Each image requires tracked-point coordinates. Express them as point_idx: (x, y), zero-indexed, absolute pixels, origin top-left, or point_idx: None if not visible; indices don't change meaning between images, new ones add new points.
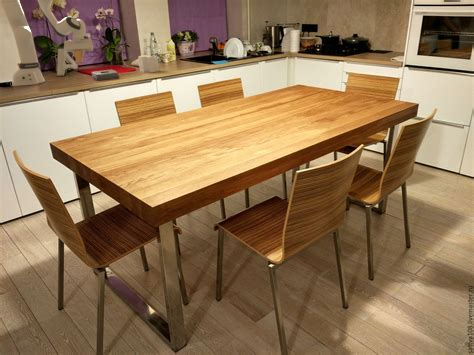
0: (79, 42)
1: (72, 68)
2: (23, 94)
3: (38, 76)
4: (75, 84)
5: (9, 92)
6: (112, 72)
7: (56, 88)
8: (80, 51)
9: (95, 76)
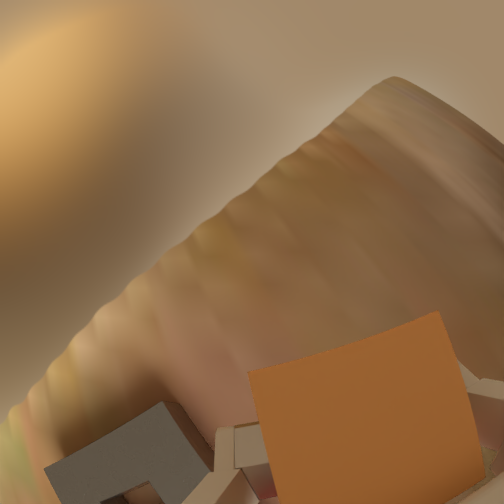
0: None
1: None
2: (384, 96)
3: None
4: (285, 260)
5: (460, 120)
6: (76, 483)
7: (334, 165)
8: (268, 449)
9: (194, 438)
